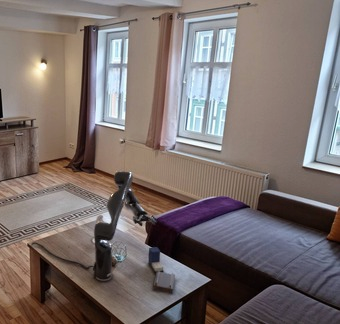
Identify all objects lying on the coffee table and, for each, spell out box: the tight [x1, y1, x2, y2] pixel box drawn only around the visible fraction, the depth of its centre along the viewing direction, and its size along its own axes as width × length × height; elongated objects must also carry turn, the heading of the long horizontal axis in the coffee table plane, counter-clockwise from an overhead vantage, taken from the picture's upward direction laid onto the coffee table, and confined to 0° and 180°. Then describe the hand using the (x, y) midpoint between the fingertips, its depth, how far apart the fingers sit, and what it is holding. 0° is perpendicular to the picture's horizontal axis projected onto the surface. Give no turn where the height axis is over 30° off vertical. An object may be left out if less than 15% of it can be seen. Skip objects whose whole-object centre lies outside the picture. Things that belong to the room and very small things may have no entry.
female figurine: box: [88, 213, 104, 244], centre depth 222 cm, size 11×16×20 cm
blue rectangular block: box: [147, 246, 165, 276], centre depth 194 cm, size 11×5×11 cm, turn 11°
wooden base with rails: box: [152, 271, 176, 294], centre depth 181 cm, size 10×13×4 cm
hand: (148, 224), depth 203 cm, fingers open, 8 cm apart
